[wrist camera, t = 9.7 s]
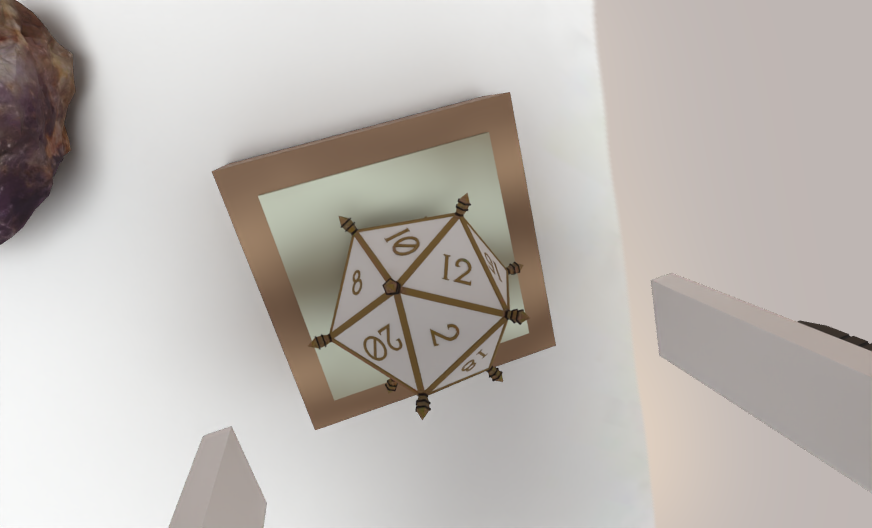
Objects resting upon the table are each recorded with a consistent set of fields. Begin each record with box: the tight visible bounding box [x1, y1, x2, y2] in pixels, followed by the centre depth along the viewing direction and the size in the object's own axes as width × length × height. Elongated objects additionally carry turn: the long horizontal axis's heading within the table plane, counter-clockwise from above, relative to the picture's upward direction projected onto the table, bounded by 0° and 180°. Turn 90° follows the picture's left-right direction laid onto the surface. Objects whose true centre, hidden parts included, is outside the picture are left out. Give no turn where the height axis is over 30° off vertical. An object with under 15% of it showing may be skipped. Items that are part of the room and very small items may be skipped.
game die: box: [308, 193, 530, 420], centre depth 20 cm, size 9×8×10 cm
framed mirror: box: [212, 92, 556, 430], centre depth 26 cm, size 14×14×4 cm
